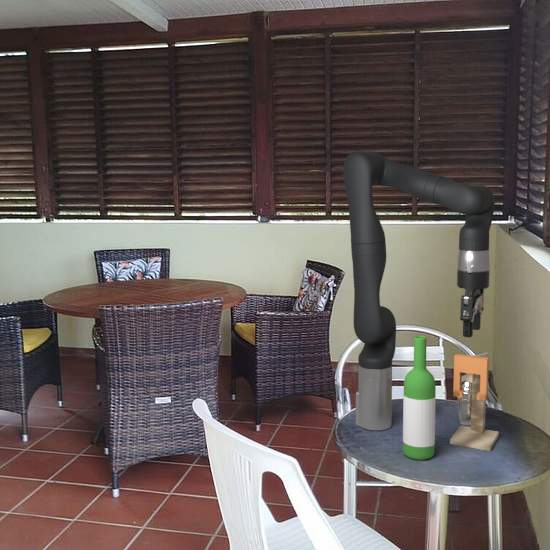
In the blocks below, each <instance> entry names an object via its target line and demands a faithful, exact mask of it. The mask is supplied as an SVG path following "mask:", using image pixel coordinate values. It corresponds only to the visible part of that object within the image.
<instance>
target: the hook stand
mask: <svg viewBox="0 0 550 550" xmlns="http://www.w3.org/2000/svg"><path fill="white" fill-rule="evenodd" d="M465 375H466V382H470V383H472V402H471V426H466V425H459V427H458V428H457V429H456V431H455V432H454V434H453V435H452V436H451V437H450V440H449V444H450V445H453V446H458V447H459V446H460V447H466V448H472V449H475V450H476V449H477V450H483V451H488V452H491V450H492V448H493V446H494V445H495V443H496V441H497V439H498V437H499V436H500V435H499V434H500V431H497V430H491V429H485V428H486V402H487V400H486V401H482V400H477V393H478V392H480V375H479V374H471V373H465Z"/></svg>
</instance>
